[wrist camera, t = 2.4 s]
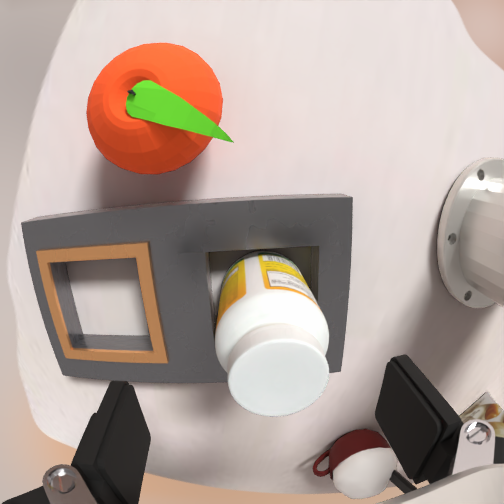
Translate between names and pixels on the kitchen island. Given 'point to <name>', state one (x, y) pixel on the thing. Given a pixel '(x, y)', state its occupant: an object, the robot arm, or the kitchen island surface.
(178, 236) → the two-pocket grey tray
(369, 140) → the kitchen island surface
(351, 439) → the cocoa
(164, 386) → the kitchen island surface
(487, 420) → the coffee box
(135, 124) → the clementine
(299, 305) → the supplement bottle
